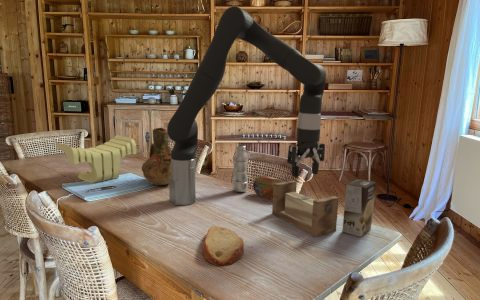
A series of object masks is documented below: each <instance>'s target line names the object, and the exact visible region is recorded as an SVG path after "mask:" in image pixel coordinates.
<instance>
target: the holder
mask: <svg viewBox="0 0 480 300" xmlns="http://www.w3.org/2000/svg"><path fill="white" fill-rule="evenodd" d="M297 182H298V181H296V180H289V181H288V180H287V181H284V182H281V183H275V184H274V185H273V199H272V208H271V209H272V212H271V214H272V215H274V216H276V217H278V218H279V219H281V220H284V221H285V222H287V223H289V224H291V225H293V226H295V227H296V228H298V229H300V230H302V231H304V232H305V233H308V234H310V235H311V236H312V237H320V236H323V235H326V234H330V233H334V232H336V231H337V225H338V224H337V222H338V212H339V211H338V209H339V201H340V200H339V196H335V195H332V196H328V197H324V198H319V199H313V213H312V226H311V225H309V224H307V223H305V222H303V221H301V220H299V219H297V218H295V217H293V216H291V215H289V214H287V213H285V196H286V193H290V192H296V193H297Z"/></svg>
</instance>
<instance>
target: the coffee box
mask: <svg viewBox="0 0 480 300" xmlns="http://www.w3.org/2000/svg"><path fill="white" fill-rule="evenodd" d="M376 186H377V182H376V181H371V180H368V179H360V178H356V179H354V180H352V181H349V182H347V183H346V187H345V188H346V190H345V198H344V206H343V207H344V209H343V219H342V220H343V221H342V232H343V233H346V234H350V235H353V236H355V237H360V238H361V237H362V236H363V235H364V234H366V233H367V232H368V231H370V230H371V229H372V223H373V214H374V204H375V197H376V196H375V195H376Z"/></svg>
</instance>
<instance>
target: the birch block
mask: <svg viewBox="0 0 480 300" xmlns="http://www.w3.org/2000/svg"><path fill="white" fill-rule="evenodd" d="M313 200H314V199H313V198H311V197H309V196H307V195H304V194H301V193H298V192H297V191H296V192H290V193H286V196H285V213H287V214H289V215H291V216H293V217H295V218H297V219H299V220H301V221H303V222H305V223H307V224H309V225H311V226H312V213H313Z"/></svg>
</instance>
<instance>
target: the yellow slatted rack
mask: <svg viewBox="0 0 480 300" xmlns="http://www.w3.org/2000/svg"><path fill="white" fill-rule="evenodd" d="M55 146H56V147H55V148H56V149H57V150H59V151H61V152H63V153H65V155H66V156H67V158H68V161H69V164H71V165H73V166H75V165H78V164H80V163H85V162H87V163H88V166H89V167H90V169H91V170H89V171H86V172H84V171H83V172H79V173H78V175H77V179H80V180H83V181H85V182H87V181H88V183H90V182H92V183H91V184H94V183H97V182H103V181H107V180H111V179H117V178H119V177H120V166H121V162H122V159H123V158H125V157H126V156H128V155H137V144H136V141H135V139H134V138H132V137H129V136H124V135H119V134H115V136H114V137H113V138H110V140H108V141H106V142H104V143H103V144H99V145H97V146H94V147H87V148H78V147H73V146H70V145H67V144H63V143H60V142H56V141H55Z"/></svg>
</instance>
